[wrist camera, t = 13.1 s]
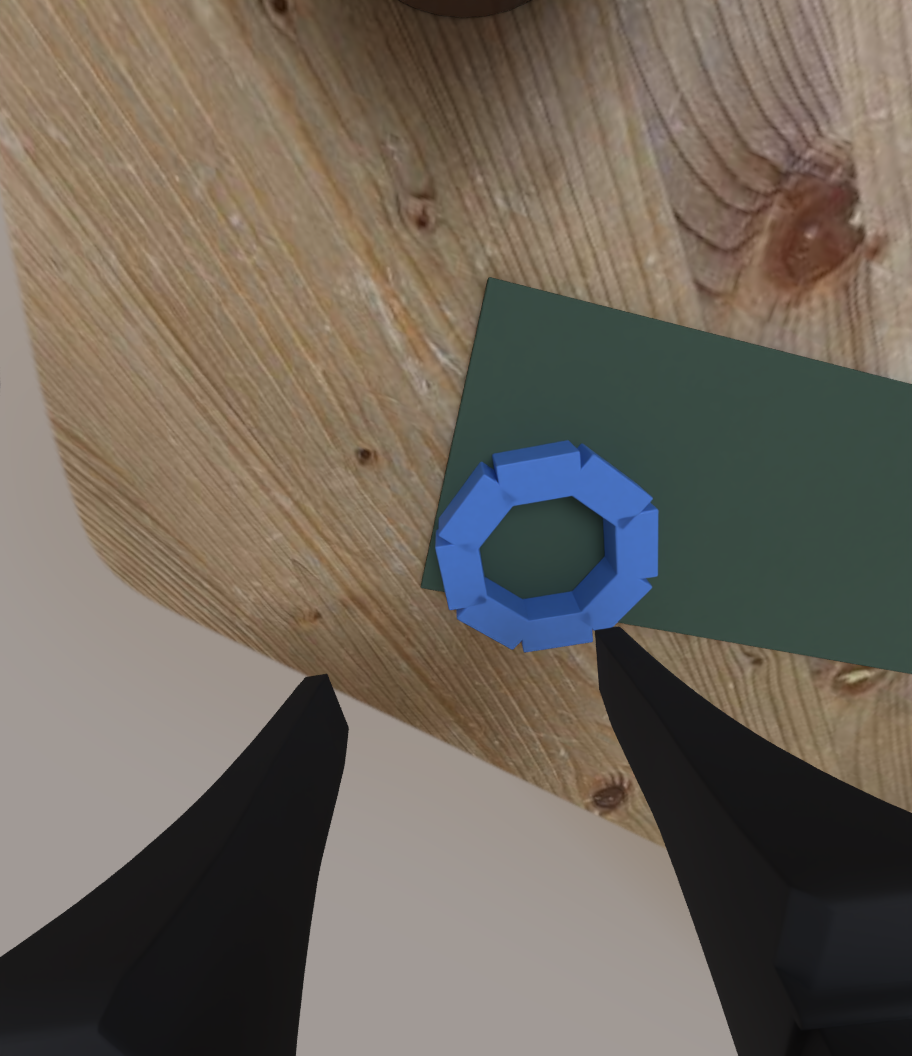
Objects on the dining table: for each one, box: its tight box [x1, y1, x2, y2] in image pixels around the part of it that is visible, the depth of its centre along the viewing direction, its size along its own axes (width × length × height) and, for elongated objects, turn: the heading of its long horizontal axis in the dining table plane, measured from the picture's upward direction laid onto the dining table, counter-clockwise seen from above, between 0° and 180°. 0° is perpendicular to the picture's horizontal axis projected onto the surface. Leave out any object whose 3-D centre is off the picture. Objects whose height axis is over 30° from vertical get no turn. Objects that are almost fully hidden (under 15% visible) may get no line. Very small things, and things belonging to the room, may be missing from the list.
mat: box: [421, 277, 912, 674], centre depth 19 cm, size 40×12×1 cm, turn 78°
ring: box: [435, 440, 658, 652], centre depth 18 cm, size 8×8×2 cm
